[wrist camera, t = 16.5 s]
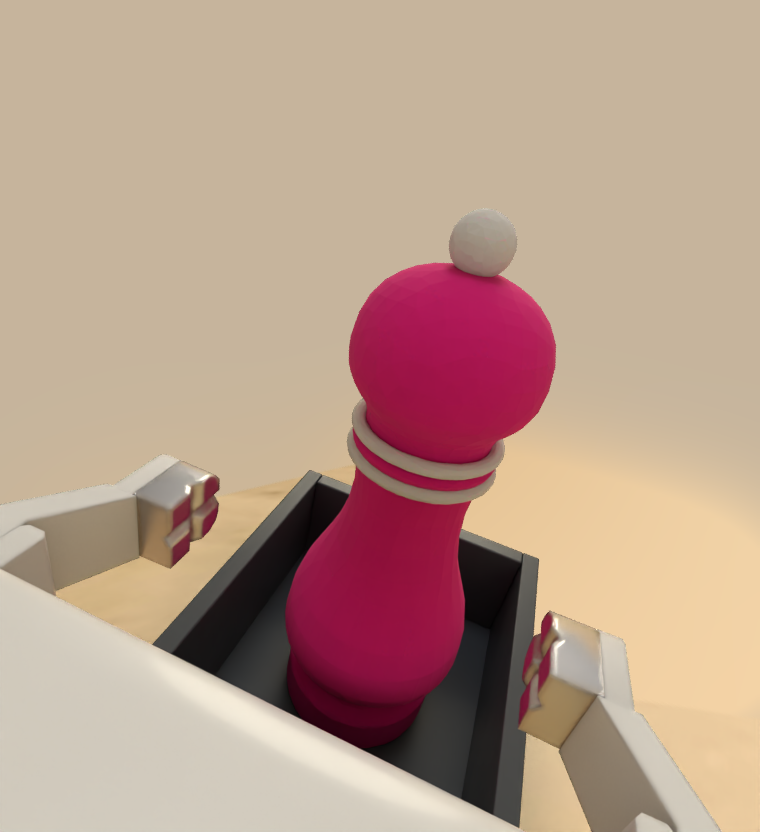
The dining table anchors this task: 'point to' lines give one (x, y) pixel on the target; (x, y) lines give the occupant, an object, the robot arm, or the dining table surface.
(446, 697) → the bin
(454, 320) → the pepper mill
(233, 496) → the dining table surface
